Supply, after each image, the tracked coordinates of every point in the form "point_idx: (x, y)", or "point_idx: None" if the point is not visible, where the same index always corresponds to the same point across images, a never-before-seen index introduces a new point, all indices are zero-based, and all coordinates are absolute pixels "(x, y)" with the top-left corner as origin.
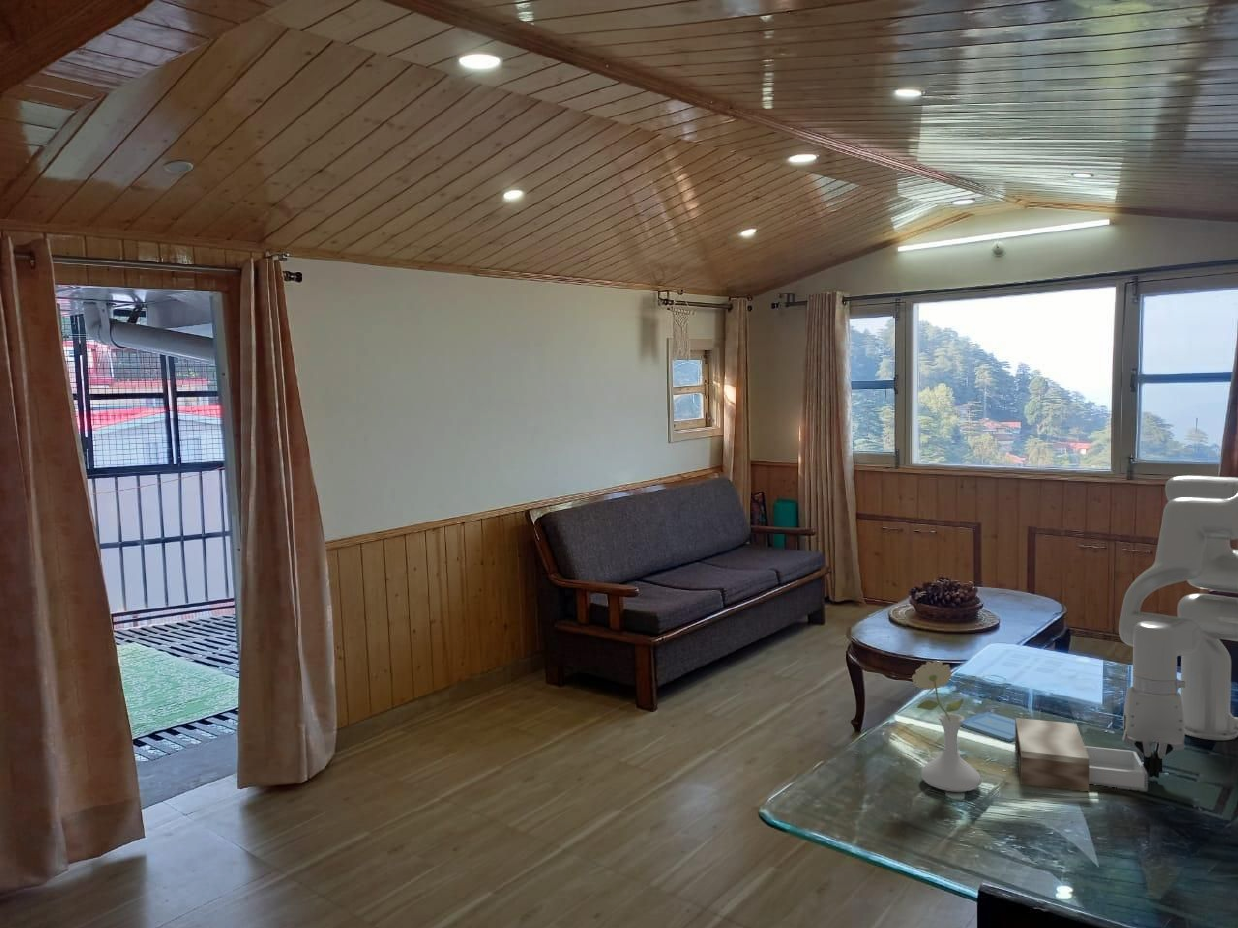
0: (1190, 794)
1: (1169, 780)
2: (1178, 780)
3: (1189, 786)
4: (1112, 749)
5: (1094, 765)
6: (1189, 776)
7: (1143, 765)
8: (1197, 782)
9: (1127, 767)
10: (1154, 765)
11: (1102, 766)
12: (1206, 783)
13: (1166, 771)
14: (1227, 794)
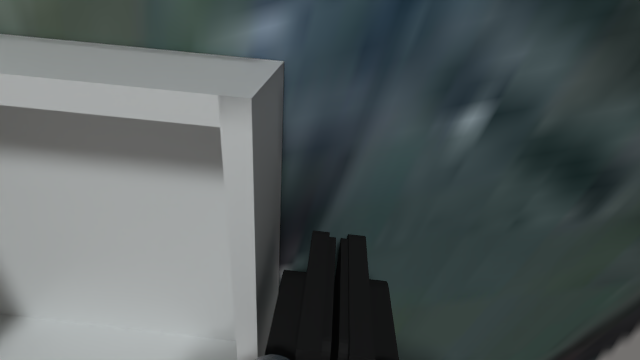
0: (450, 344)
1: (432, 226)
2: (487, 218)
3: (500, 278)
4: (23, 91)
5: (16, 137)
6: (609, 147)
7: (282, 276)
8: (588, 227)
9: (218, 130)
10: (330, 353)
11: (64, 145)
12: (636, 233)
13: (493, 85)
14: (634, 329)
